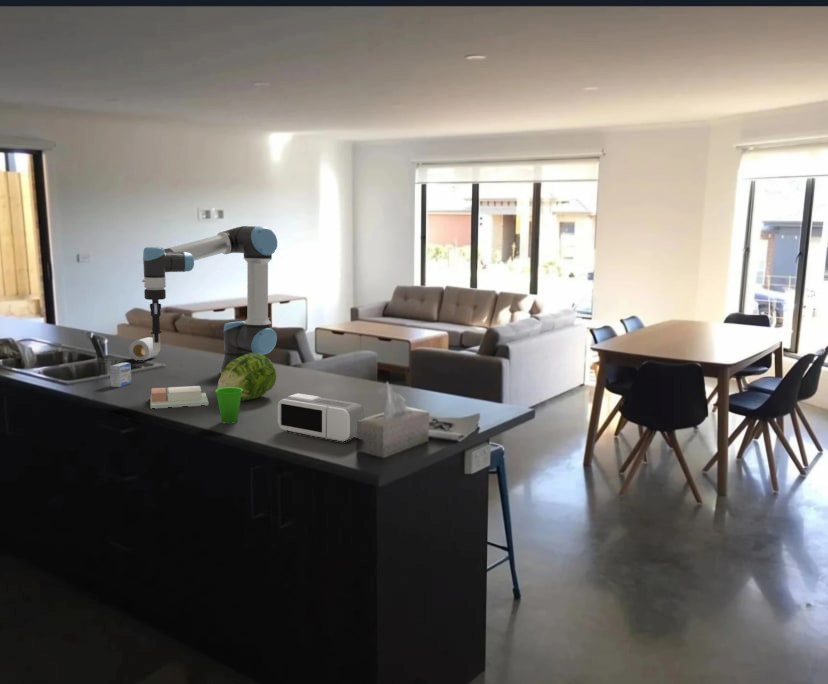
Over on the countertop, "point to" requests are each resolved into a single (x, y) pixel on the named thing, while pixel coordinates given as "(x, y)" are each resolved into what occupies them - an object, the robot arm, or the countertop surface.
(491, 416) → the countertop surface
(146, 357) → the toilet paper
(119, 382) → the medicine box
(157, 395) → the pink rectangular block
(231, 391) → the cup
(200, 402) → the board
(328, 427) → the alarm clock
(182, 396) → the cream flat block
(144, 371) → the countertop surface
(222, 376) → the lettuce
